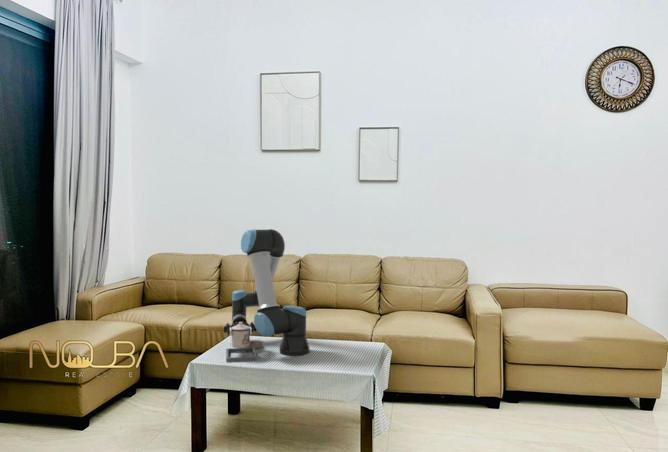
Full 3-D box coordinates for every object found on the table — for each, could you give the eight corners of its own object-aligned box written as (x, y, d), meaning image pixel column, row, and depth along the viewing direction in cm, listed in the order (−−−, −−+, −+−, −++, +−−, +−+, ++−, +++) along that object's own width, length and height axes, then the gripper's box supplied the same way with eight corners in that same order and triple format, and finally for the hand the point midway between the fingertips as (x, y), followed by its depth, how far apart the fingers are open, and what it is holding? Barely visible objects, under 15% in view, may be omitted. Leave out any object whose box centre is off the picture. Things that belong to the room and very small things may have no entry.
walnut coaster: (262, 342, 273) (262, 341, 272) (263, 348, 261) (263, 347, 261) (239, 343, 270) (239, 342, 270) (240, 349, 258) (240, 348, 258)
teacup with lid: (245, 349, 240) (245, 324, 239) (227, 347, 242) (227, 323, 242) (255, 343, 251) (255, 319, 251) (239, 341, 254) (239, 318, 253)
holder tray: (254, 350, 256) (254, 347, 256) (256, 360, 240) (256, 356, 240) (226, 352, 253) (226, 348, 253) (226, 362, 237) (226, 358, 237)
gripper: (260, 329, 266) (263, 339, 244) (218, 331, 262) (217, 341, 240) (260, 315, 266) (263, 323, 244) (218, 316, 262) (217, 325, 240)
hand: (240, 332), depth 242 cm, fingers closed on teacup with lid, 9 cm apart
